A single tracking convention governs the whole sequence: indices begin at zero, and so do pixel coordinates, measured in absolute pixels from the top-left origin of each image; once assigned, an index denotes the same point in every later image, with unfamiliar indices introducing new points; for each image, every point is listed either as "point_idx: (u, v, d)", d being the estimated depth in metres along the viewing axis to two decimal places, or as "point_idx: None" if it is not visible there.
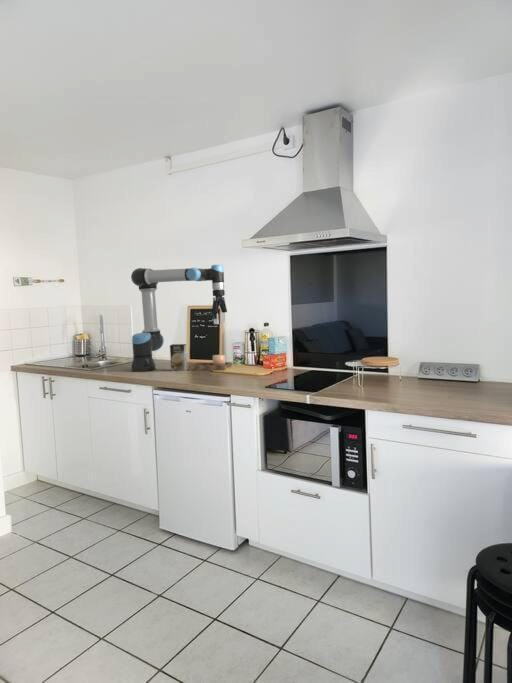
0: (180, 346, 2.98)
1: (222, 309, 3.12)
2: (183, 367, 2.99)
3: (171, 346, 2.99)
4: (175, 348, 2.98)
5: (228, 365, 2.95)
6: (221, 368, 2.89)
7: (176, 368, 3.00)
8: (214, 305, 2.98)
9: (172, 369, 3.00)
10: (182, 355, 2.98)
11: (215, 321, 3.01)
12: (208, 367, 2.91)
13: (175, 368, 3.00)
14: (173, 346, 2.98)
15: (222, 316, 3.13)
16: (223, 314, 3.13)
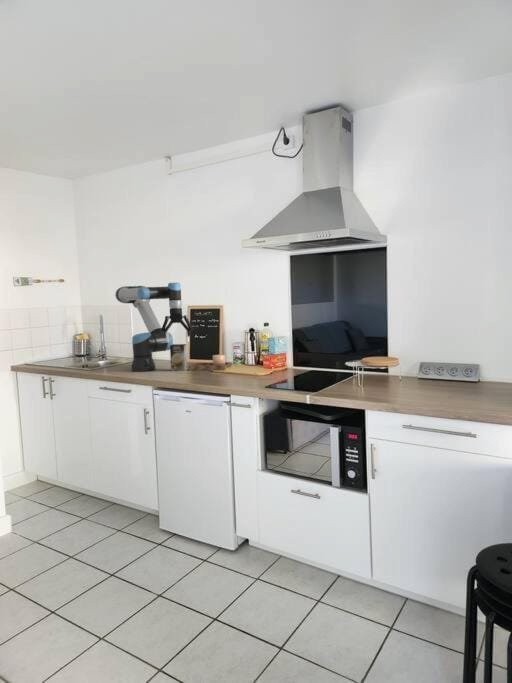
0: (180, 346, 2.98)
1: None
2: (183, 367, 2.99)
3: (171, 346, 2.99)
4: (175, 348, 2.98)
5: (228, 365, 2.95)
6: (221, 368, 2.89)
7: (176, 368, 3.00)
8: None
9: (172, 369, 3.00)
10: (182, 355, 2.98)
11: None
12: (208, 367, 2.91)
13: (175, 368, 3.00)
14: (173, 346, 2.98)
15: None
16: None
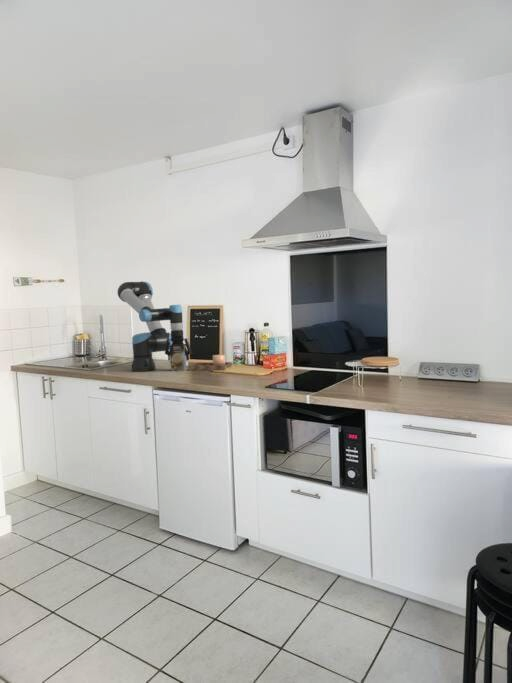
0: (180, 346, 2.98)
1: None
2: (183, 367, 2.99)
3: (171, 346, 2.99)
4: (175, 348, 2.98)
5: (228, 365, 2.95)
6: (221, 368, 2.89)
7: (176, 368, 3.00)
8: None
9: (172, 369, 3.00)
10: (182, 355, 2.98)
11: None
12: (208, 367, 2.91)
13: (175, 368, 3.00)
14: (173, 346, 2.98)
15: None
16: None
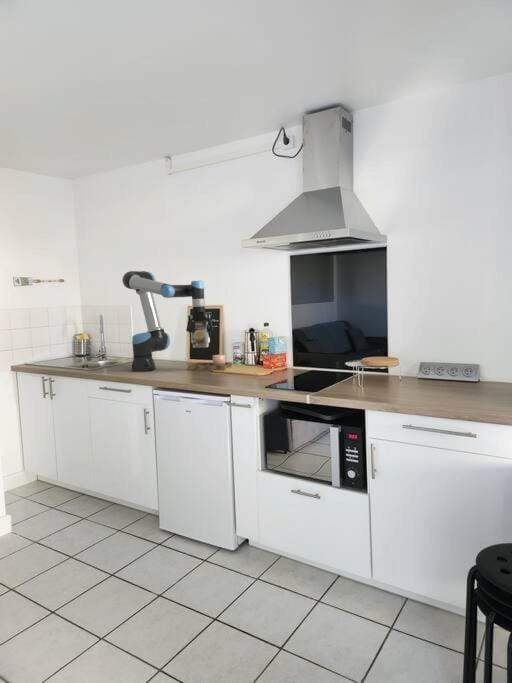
0: (202, 322, 2.94)
1: None
2: (205, 344, 2.95)
3: (193, 322, 2.94)
4: (197, 324, 2.94)
5: (228, 365, 2.95)
6: (221, 368, 2.89)
7: (198, 345, 2.95)
8: None
9: (194, 346, 2.96)
10: (204, 331, 2.94)
11: None
12: (208, 367, 2.91)
13: (197, 345, 2.95)
14: (195, 322, 2.94)
15: None
16: None
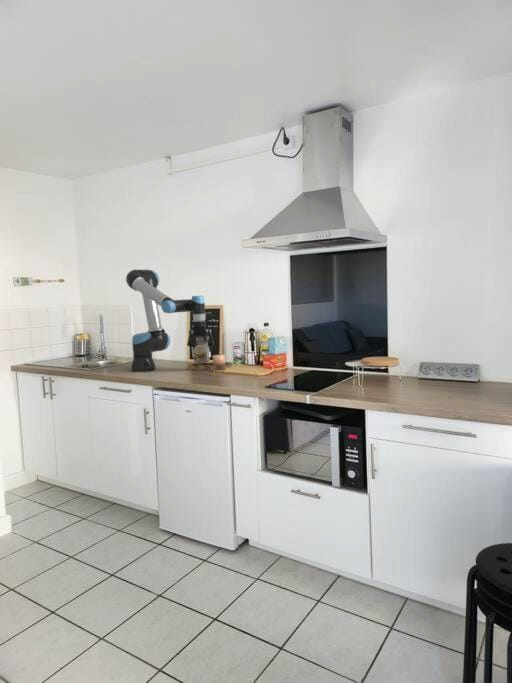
0: (203, 337, 2.95)
1: None
2: (206, 358, 2.96)
3: (194, 337, 2.95)
4: (198, 339, 2.95)
5: (228, 365, 2.95)
6: (221, 368, 2.89)
7: (199, 359, 2.96)
8: None
9: (195, 361, 2.97)
10: (205, 346, 2.95)
11: None
12: (208, 367, 2.91)
13: (198, 360, 2.96)
14: (196, 337, 2.95)
15: None
16: None
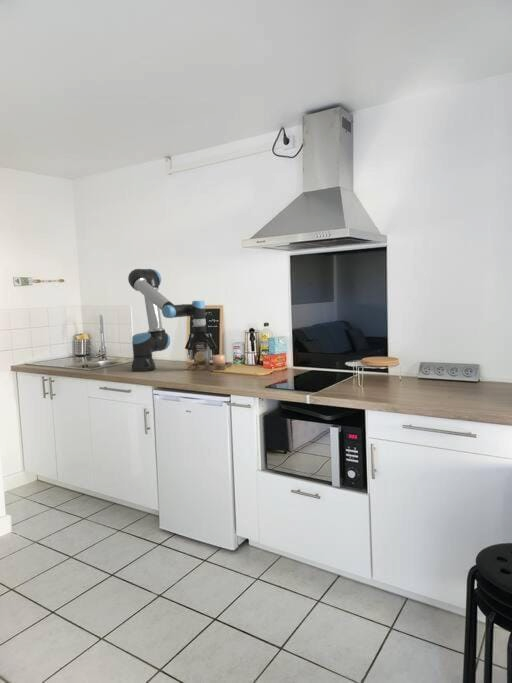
0: (203, 344, 2.95)
1: None
2: (206, 365, 2.96)
3: (194, 344, 2.96)
4: (198, 346, 2.95)
5: (228, 365, 2.95)
6: (221, 368, 2.89)
7: None
8: None
9: None
10: (205, 353, 2.95)
11: None
12: (208, 367, 2.91)
13: None
14: (196, 344, 2.95)
15: None
16: None
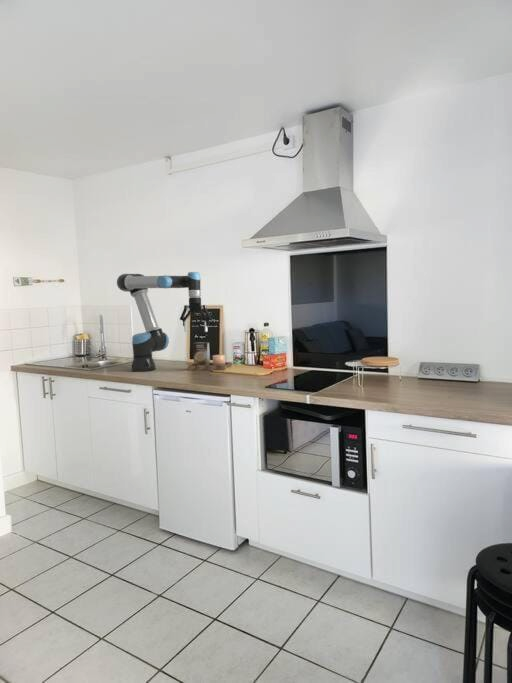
0: (203, 344, 2.95)
1: None
2: (206, 365, 2.96)
3: (194, 344, 2.96)
4: (198, 346, 2.95)
5: (228, 365, 2.95)
6: (221, 368, 2.89)
7: None
8: None
9: None
10: (205, 353, 2.95)
11: None
12: (208, 367, 2.91)
13: None
14: (196, 344, 2.95)
15: None
16: None
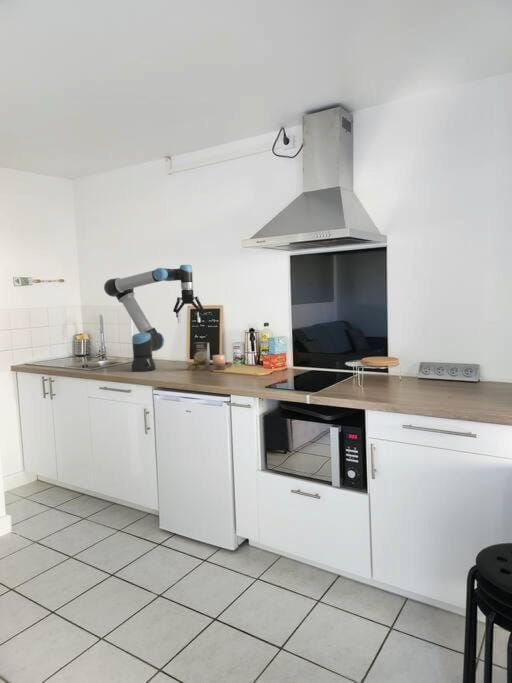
0: (203, 344, 2.95)
1: None
2: (206, 365, 2.96)
3: (194, 344, 2.96)
4: (198, 346, 2.95)
5: (228, 365, 2.95)
6: (221, 368, 2.89)
7: None
8: None
9: None
10: (205, 353, 2.95)
11: None
12: (208, 367, 2.91)
13: None
14: (196, 344, 2.95)
15: None
16: None
